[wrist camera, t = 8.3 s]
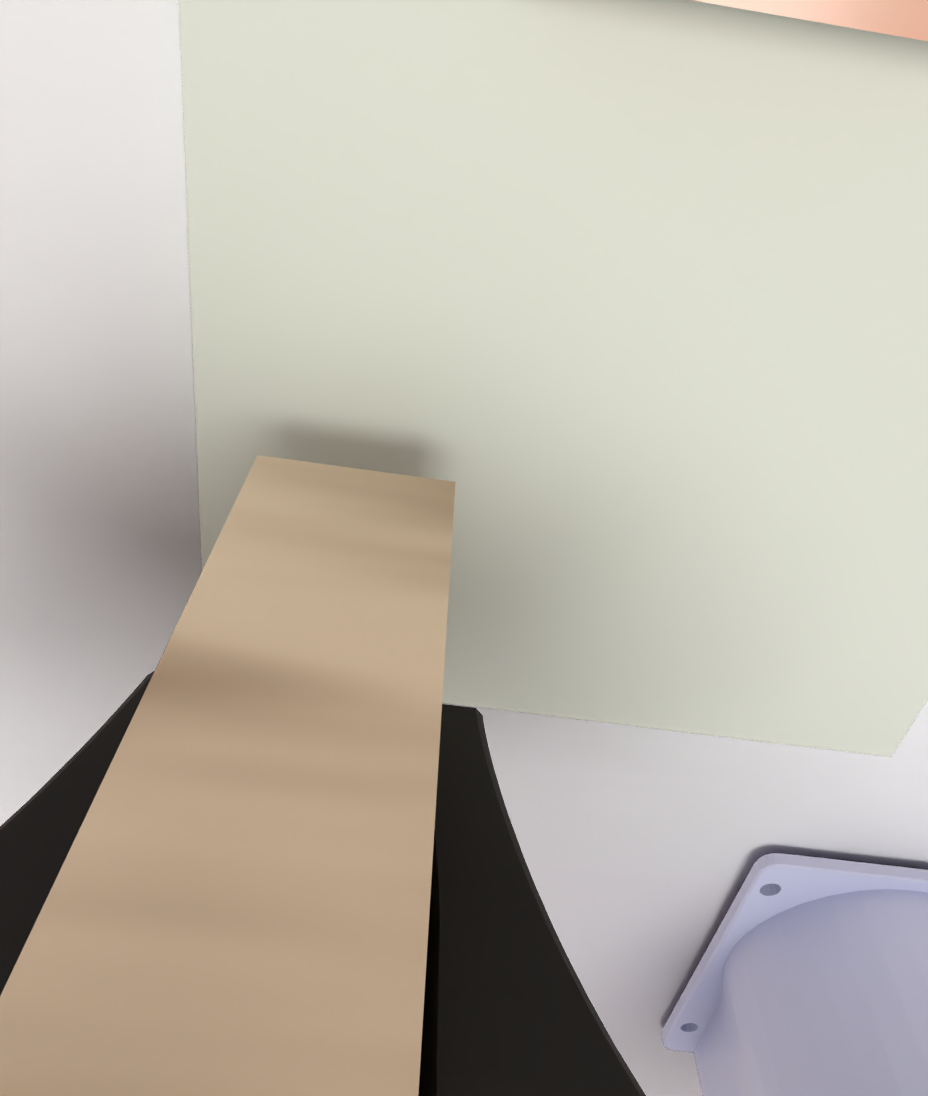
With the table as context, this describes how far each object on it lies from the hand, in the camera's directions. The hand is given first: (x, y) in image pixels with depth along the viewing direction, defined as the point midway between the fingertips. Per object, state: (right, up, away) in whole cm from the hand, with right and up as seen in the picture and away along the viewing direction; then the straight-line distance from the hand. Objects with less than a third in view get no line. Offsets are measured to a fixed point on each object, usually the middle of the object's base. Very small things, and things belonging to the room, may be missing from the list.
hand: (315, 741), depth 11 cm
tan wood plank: (0, +2, +3) cm, 3 cm away
